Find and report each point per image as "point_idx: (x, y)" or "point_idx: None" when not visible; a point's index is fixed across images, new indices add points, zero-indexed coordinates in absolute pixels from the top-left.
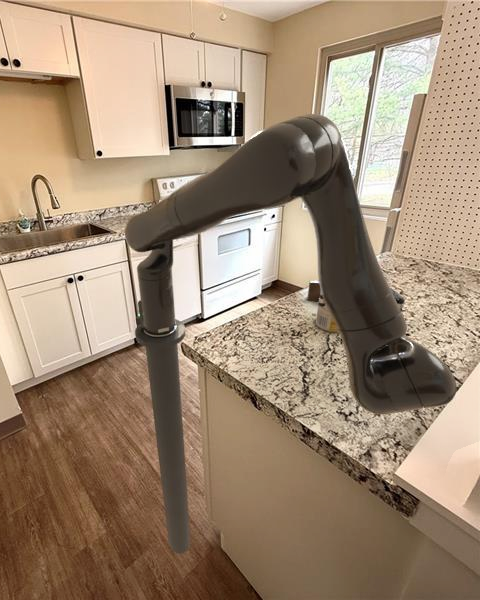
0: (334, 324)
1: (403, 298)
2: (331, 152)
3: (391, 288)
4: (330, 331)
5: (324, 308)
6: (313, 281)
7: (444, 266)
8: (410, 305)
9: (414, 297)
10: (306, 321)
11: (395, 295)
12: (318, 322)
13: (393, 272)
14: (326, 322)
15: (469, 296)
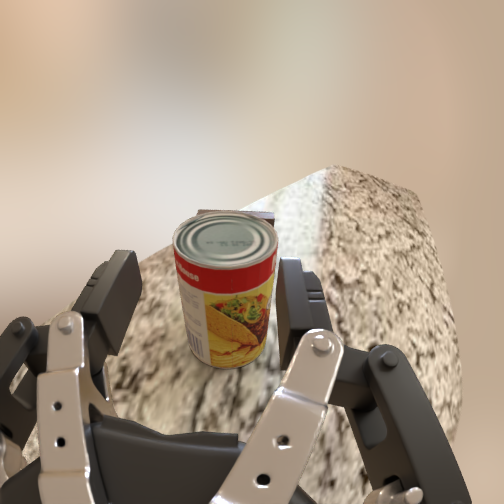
0: (219, 354)
1: (466, 492)
2: None
3: (403, 357)
4: (214, 366)
5: (188, 314)
6: (204, 212)
7: (391, 185)
8: (372, 256)
9: (375, 237)
10: (169, 328)
11: (429, 464)
12: (188, 339)
13: (343, 190)
14: (200, 348)
15: (427, 234)
